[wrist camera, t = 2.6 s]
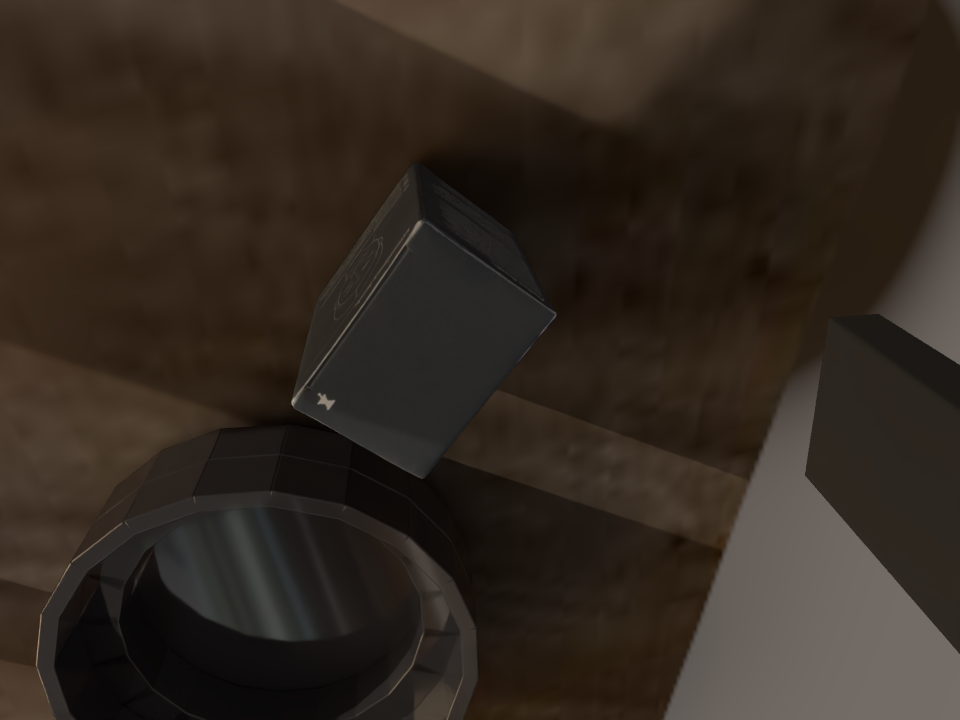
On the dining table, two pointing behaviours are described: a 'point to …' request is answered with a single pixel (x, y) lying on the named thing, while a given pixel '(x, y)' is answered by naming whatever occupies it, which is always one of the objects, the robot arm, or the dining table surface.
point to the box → (419, 324)
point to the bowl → (264, 590)
